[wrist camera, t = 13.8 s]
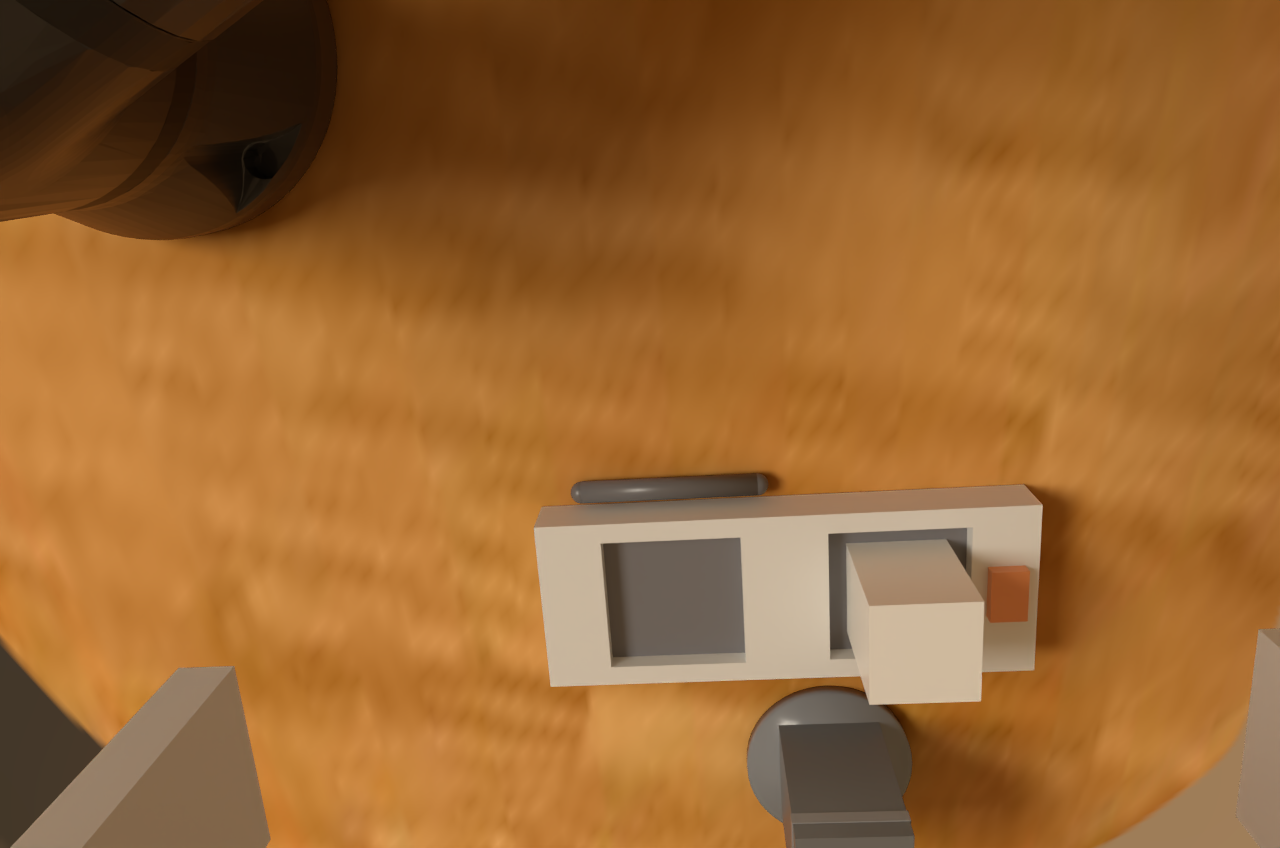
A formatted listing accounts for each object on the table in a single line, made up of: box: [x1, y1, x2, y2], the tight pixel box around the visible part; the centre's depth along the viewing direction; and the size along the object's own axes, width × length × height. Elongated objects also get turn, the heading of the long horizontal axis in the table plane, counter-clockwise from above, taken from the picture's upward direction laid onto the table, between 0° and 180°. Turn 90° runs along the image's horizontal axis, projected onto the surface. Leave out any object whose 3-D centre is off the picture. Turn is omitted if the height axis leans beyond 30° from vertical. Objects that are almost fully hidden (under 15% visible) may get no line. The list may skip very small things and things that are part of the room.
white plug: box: [846, 539, 984, 705], centre depth 42 cm, size 4×4×6 cm
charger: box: [779, 722, 914, 848], centre depth 45 cm, size 5×5×8 cm
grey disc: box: [747, 686, 912, 823], centre depth 49 cm, size 8×8×1 cm
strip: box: [534, 473, 1043, 687], centre depth 45 cm, size 22×9×3 cm, turn 94°
